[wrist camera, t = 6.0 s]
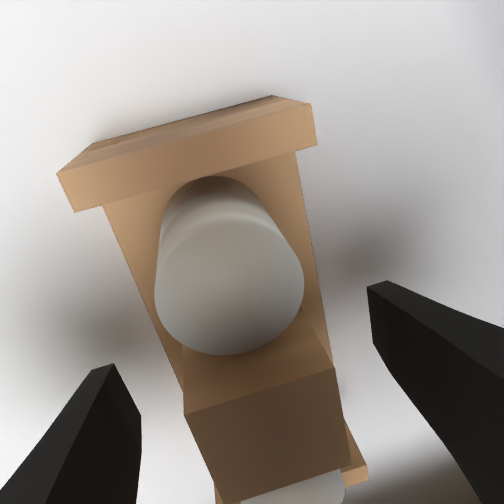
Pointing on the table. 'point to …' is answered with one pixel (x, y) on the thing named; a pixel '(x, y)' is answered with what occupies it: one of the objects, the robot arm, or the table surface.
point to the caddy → (232, 292)
